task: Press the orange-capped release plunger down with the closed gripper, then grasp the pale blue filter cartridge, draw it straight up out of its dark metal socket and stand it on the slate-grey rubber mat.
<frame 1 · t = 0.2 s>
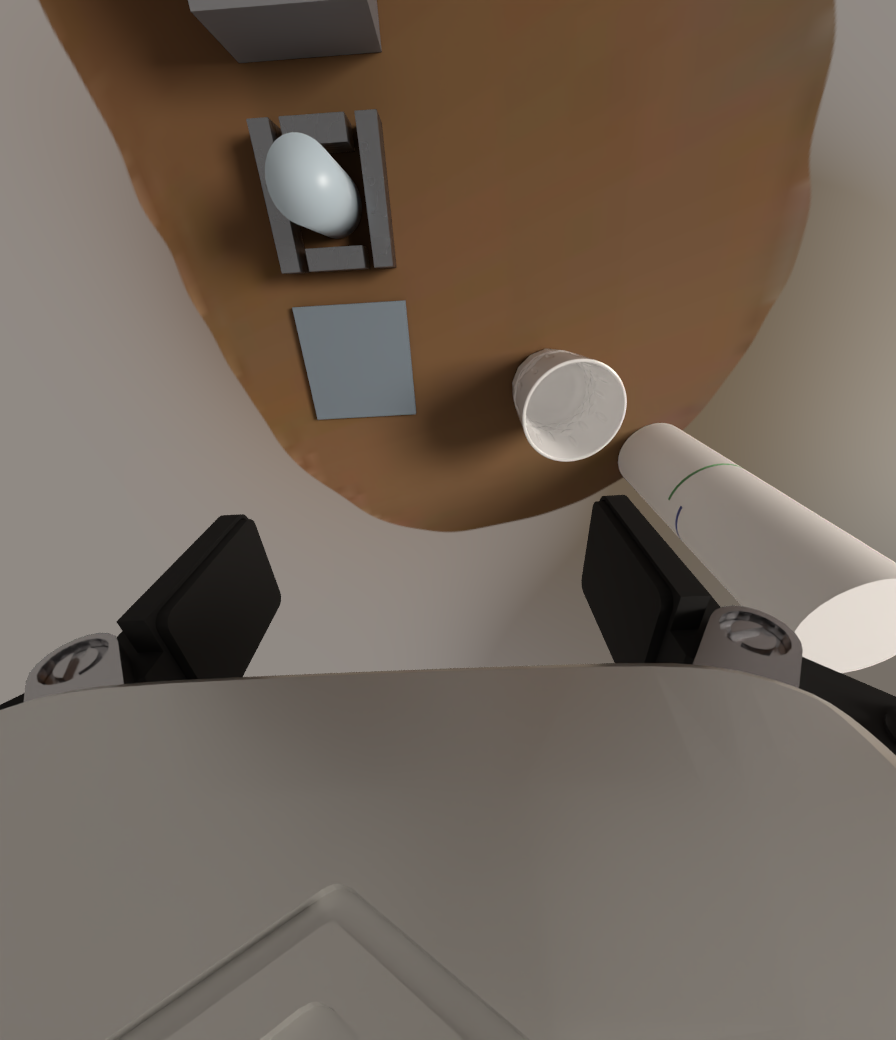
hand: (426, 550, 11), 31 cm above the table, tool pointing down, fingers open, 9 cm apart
white cup: (545, 384, 39), on the table
rubber mat: (359, 363, 37), on the table
filter cartridge: (319, 194, 28), in the cartridge socket
cylindrical container: (650, 454, 43), on the table
cartridge socket: (333, 204, 31), on the table
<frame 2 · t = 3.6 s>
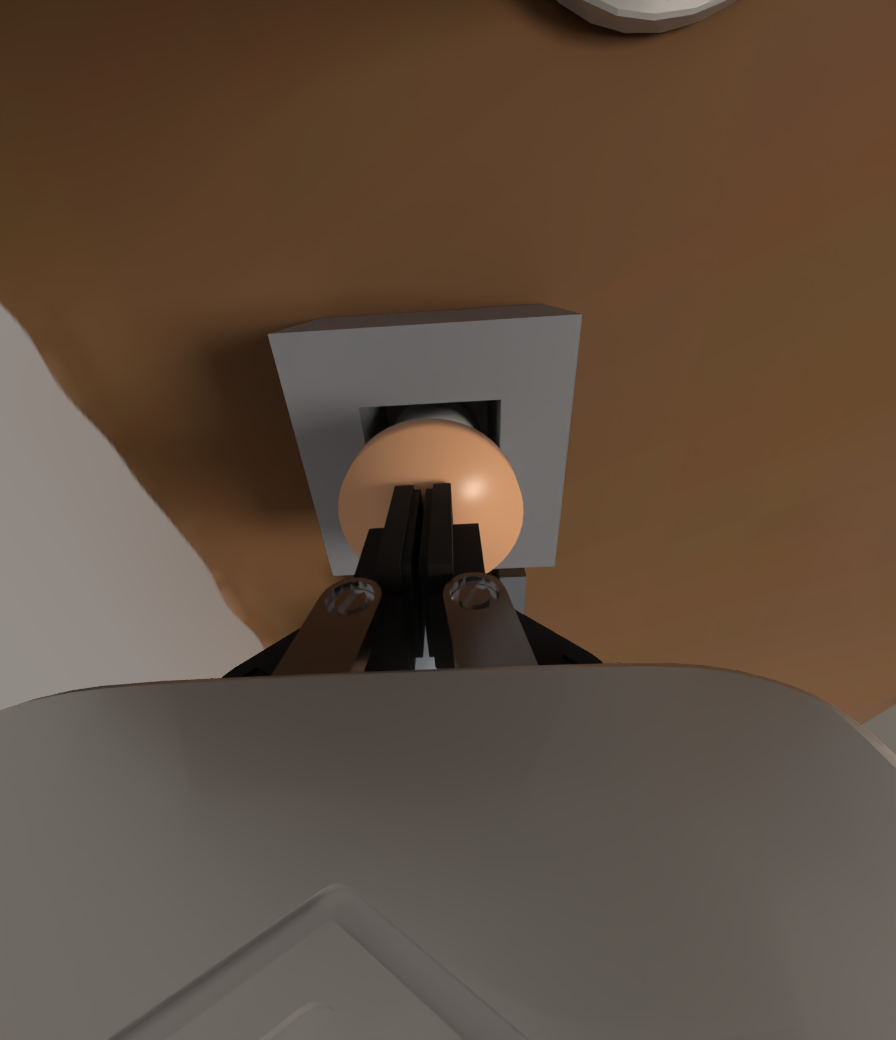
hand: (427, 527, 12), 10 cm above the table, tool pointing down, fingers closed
release plunger: (434, 473, 15), point 6 cm above the table, slide at 0.9 cm, touching gripper
plunger housing: (438, 420, 20), on the table
filter cartridge: (451, 653, 24), in the cartridge socket
cartridge socket: (451, 606, 27), on the table
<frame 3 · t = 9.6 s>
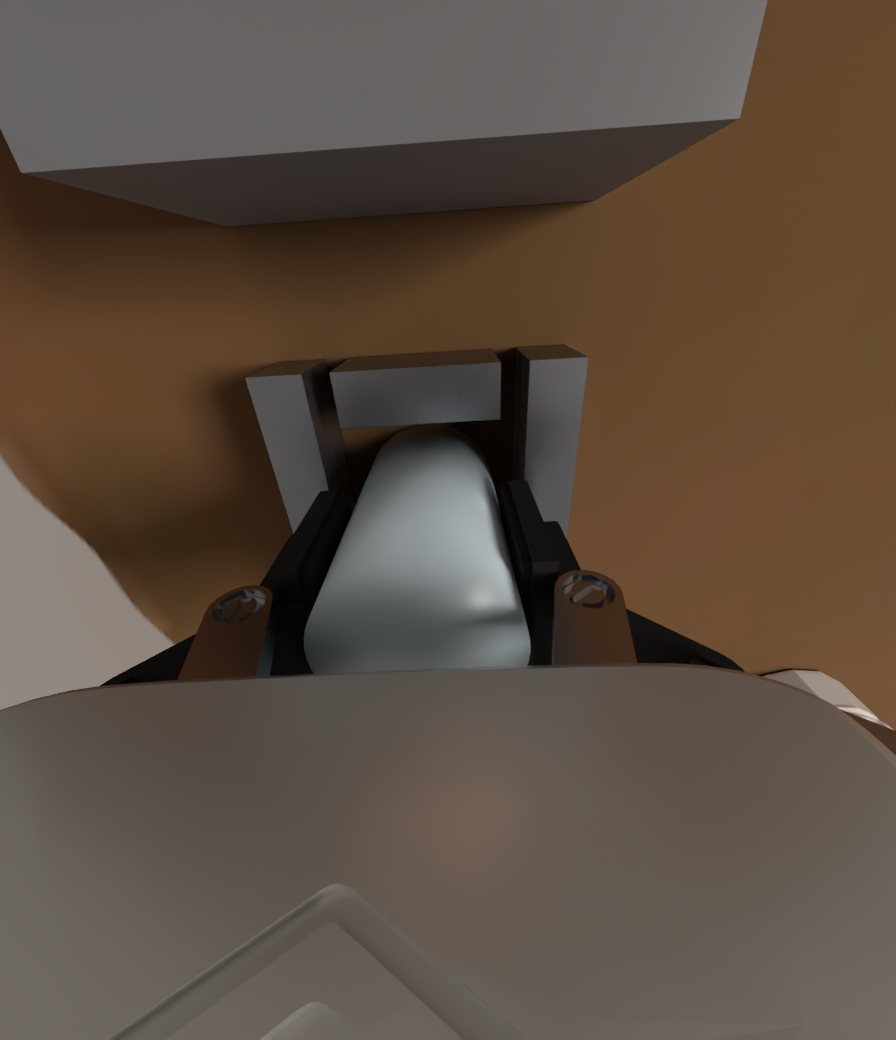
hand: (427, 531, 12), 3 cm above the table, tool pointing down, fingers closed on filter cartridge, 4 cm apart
white cup: (769, 703, 22), on the table
filter cartridge: (426, 543, 11), in the cartridge socket, touching gripper
cartridge socket: (431, 482, 15), on the table
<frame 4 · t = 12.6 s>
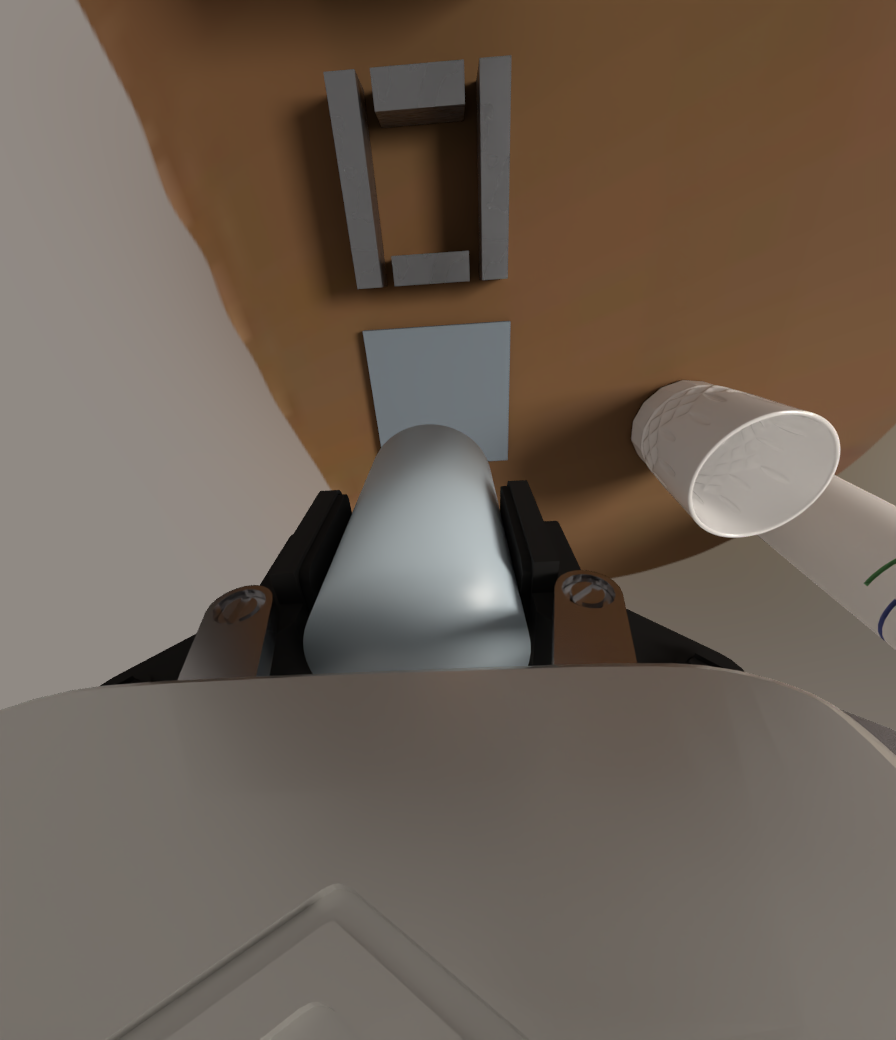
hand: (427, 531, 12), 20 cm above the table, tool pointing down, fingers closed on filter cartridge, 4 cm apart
white cup: (673, 423, 31), on the table
rubber mat: (441, 399, 29), on the table
filter cartridge: (426, 543, 11), point 21 cm above the table, touching gripper
cylindrical container: (789, 503, 34), on the table
cartridge socket: (427, 194, 23), on the table
when the fingers open (6 cm above the table, at t = 15.7 s): filter cartridge drops 2 cm, resting on rubber mat.
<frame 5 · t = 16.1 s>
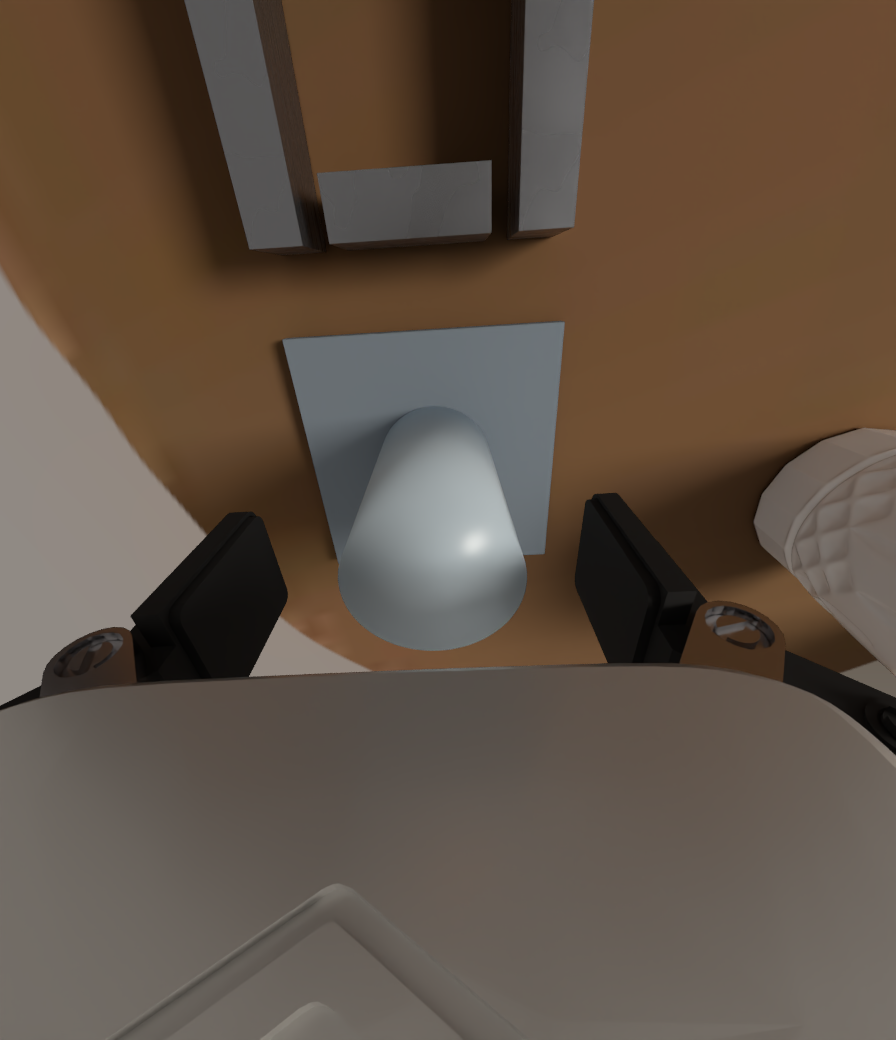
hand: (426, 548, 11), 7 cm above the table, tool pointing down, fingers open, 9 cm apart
white cup: (826, 496, 18), on the table
rubber mat: (433, 458, 17), on the table
filter cartridge: (434, 506, 13), on the rubber mat
cartridge socket: (399, 45, 11), on the table
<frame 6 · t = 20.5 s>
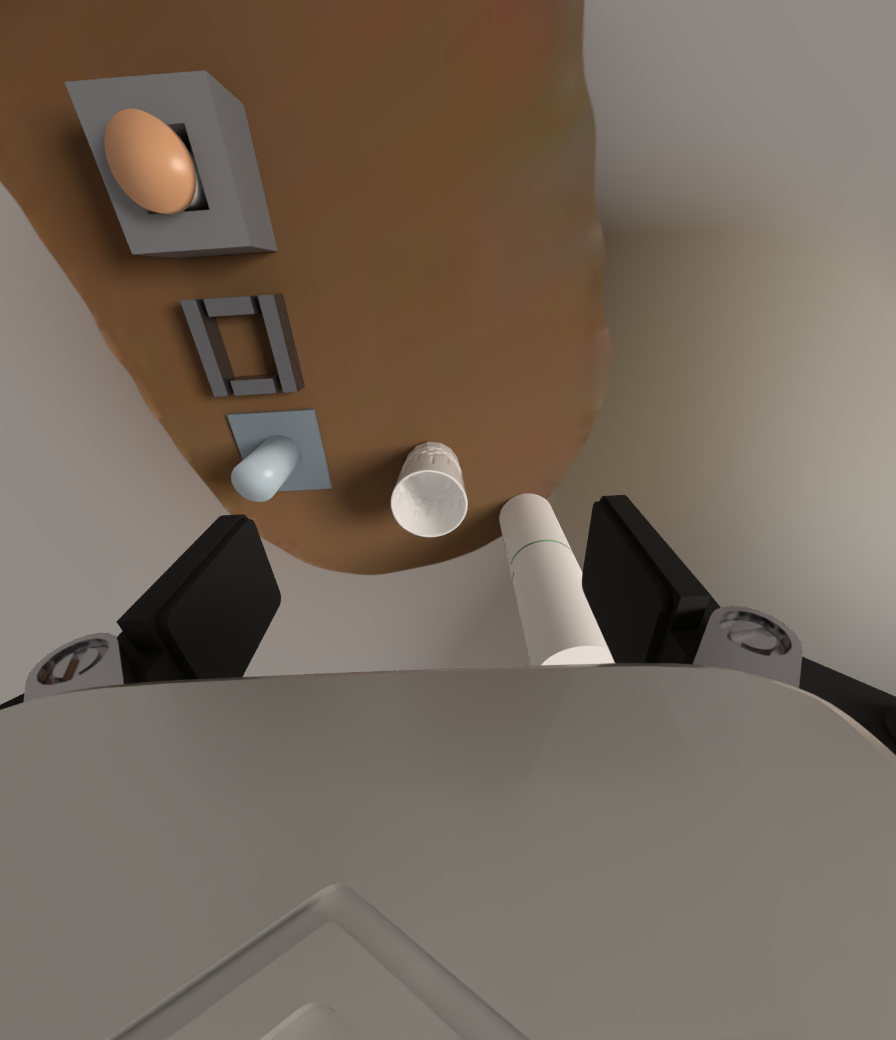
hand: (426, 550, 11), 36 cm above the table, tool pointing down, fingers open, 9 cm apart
release plunger: (174, 174, 31), point 5 cm above the table, slide at 2.4 cm
white cup: (432, 466, 49), on the table
rubber mat: (283, 452, 48), on the table
plunger housing: (206, 187, 35), on the table
filter cartridge: (269, 466, 44), on the rubber mat
cylindrical container: (525, 516, 53), on the table
cartridge socket: (252, 345, 42), on the table
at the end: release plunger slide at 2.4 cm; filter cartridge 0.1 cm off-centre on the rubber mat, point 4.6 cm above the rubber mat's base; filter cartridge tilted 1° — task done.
